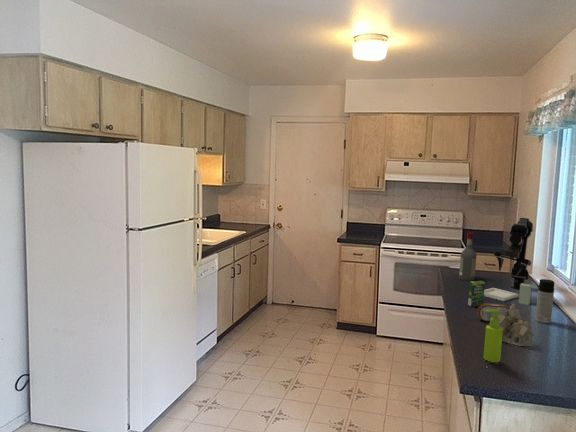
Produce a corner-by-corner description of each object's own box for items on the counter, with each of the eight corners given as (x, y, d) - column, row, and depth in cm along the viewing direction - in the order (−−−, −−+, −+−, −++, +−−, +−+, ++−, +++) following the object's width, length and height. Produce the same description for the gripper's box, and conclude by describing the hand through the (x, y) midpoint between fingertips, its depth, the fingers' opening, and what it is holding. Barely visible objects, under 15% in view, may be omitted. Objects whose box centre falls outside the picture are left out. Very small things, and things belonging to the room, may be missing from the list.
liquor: (474, 278, 314) (478, 232, 311) (473, 281, 306) (477, 234, 303) (459, 276, 318) (463, 231, 315) (458, 279, 310) (462, 233, 306)
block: (519, 300, 266) (521, 283, 264) (529, 302, 263) (531, 284, 262) (518, 303, 261) (520, 285, 260) (528, 304, 259) (530, 286, 258)
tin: (508, 321, 230) (510, 304, 229) (511, 323, 227) (512, 306, 226) (476, 319, 232) (477, 302, 231) (478, 321, 229) (479, 304, 228)
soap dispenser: (477, 357, 185) (482, 307, 183) (495, 357, 186) (499, 307, 184) (485, 364, 180) (489, 312, 177) (503, 364, 180) (507, 312, 178)
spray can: (549, 320, 234) (553, 279, 232) (552, 324, 228) (556, 283, 225) (534, 318, 236) (538, 278, 234) (536, 322, 230) (540, 281, 227)
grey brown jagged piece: (482, 332, 214) (487, 299, 211) (519, 335, 213) (525, 302, 211) (496, 348, 198) (501, 313, 196) (536, 351, 198) (542, 316, 195)
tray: (492, 290, 285) (493, 287, 284) (518, 297, 273) (518, 293, 272) (478, 294, 276) (478, 291, 275) (503, 301, 263) (504, 297, 263)
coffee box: (470, 307, 251) (472, 282, 249) (467, 305, 254) (468, 281, 252) (483, 306, 253) (485, 281, 252) (479, 304, 256) (481, 280, 255)
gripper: (494, 239, 271) (486, 266, 271) (529, 248, 259) (520, 276, 258) (501, 243, 280) (493, 268, 279) (535, 251, 267) (526, 278, 267)
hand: (507, 273), depth 271 cm, fingers open, 9 cm apart
